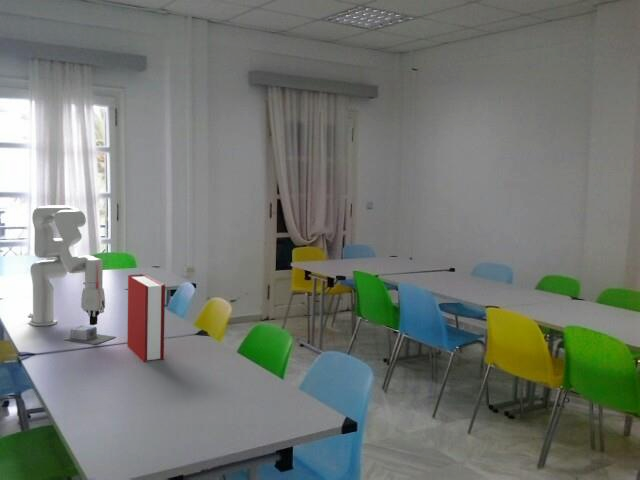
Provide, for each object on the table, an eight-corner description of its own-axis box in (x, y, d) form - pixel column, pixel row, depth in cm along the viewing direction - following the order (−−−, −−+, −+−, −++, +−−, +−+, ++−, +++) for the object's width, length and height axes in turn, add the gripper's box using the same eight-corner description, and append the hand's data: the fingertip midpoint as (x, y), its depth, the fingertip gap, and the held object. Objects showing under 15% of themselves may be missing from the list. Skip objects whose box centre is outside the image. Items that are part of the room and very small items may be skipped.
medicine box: (86, 330, 272) (70, 328, 274) (86, 340, 272) (69, 338, 274) (97, 327, 280) (80, 325, 282) (96, 336, 280) (80, 334, 282)
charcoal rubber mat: (64, 340, 272) (64, 339, 272) (85, 333, 286) (85, 332, 286) (96, 345, 267) (96, 344, 267) (115, 337, 280) (116, 336, 280)
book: (163, 359, 250) (165, 284, 247) (144, 362, 246) (145, 285, 243) (144, 343, 273) (145, 274, 270) (126, 345, 269) (127, 275, 265)
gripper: (74, 284, 272) (74, 324, 274) (102, 288, 268) (101, 328, 270) (85, 282, 279) (85, 320, 281) (112, 285, 275) (112, 324, 277)
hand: (93, 324), depth 275 cm, fingers closed
